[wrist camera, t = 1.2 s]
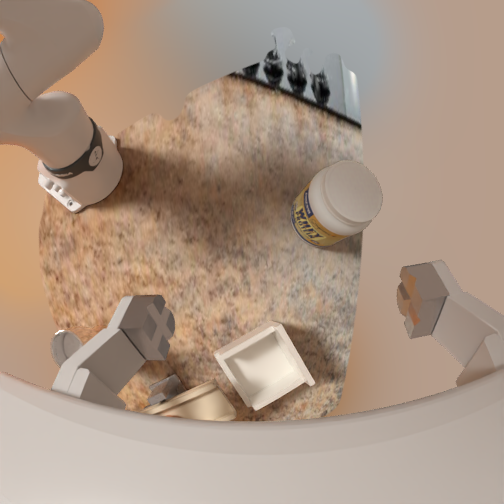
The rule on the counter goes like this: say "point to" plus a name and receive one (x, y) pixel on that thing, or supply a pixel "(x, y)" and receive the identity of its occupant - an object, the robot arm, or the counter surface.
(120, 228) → the counter surface
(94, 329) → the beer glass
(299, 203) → the supplement tub
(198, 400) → the lever
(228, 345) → the cream open-top tray
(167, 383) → the fulcrum
